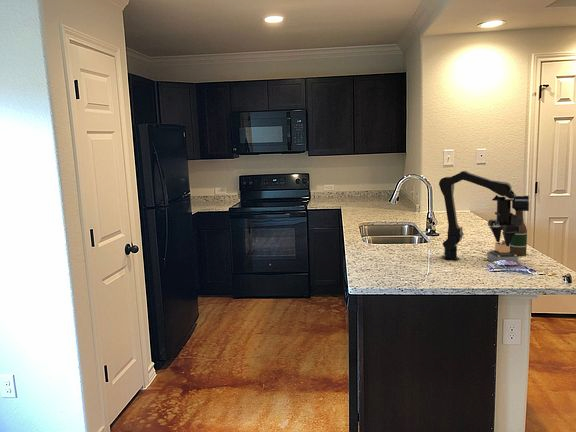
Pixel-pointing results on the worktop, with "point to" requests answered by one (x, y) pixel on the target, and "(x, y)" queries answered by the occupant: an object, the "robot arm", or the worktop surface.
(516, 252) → the beer bottle
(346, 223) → the worktop surface
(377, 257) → the worktop surface
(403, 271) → the worktop surface
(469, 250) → the worktop surface
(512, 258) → the drawer cabinet
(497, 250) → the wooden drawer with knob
